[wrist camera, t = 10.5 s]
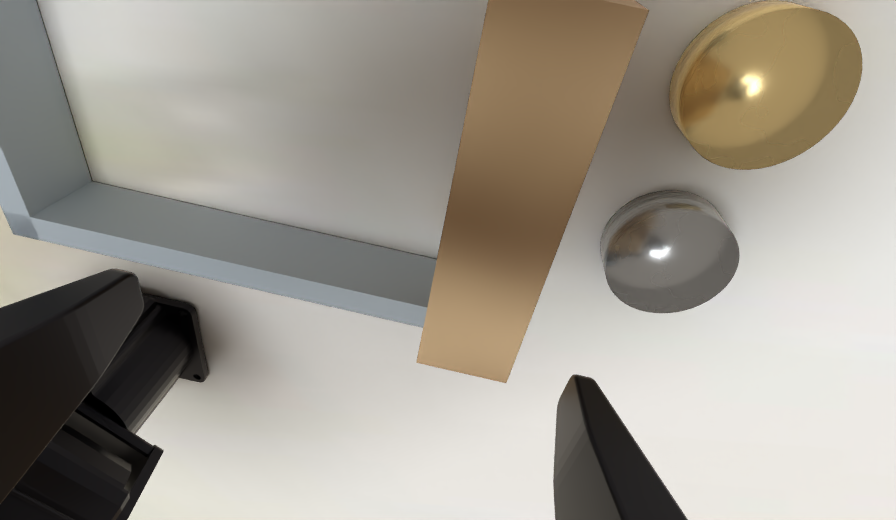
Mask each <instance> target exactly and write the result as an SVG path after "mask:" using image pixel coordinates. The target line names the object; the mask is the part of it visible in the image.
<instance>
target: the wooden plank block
mask: <svg viewBox="0 0 896 520" xmlns="http://www.w3.org/2000/svg"><path fill="white" fill-rule="evenodd" d="M648 12H649V10H648V9H646V8H645V7H644V6H642V5H641V4H639V3H638V2H636V1H635V0H488V5H487V10H486V15H485V20H484V25H483V30H482V35H481V40H480V45H479V50H478V55H477V60H476V65H475V70H474V75H473V80H472V85H471V90H470V95H469V100H468V105H467V110H466V116H465V121H464V126H463V131H462V136H461V141H460V146H459V151H458V156H457V161H456V166H455V171H454V176H453V181H452V186H451V191H450V196H449V201H448V206H447V211H446V216H445V221H444V226H443V231H442V236H441V241H440V246H439V251H438V256H437V261H436V266H435V271H434V277H433V282H432V287H431V292H430V297H429V302H428V307H427V312H426V317H425V322H424V327H423V332H422V337H421V342H420V347H419V352H418V357H417V362H416V363H421V364H425V365H429V366H434V367H438V368H442V369H447V370H451V371H456V372H460V373H464V374H469V375H473V376H477V377H482V378H486V379H490V380H495V381H499V382H503V383H506V382H507V380H508V377H509V375H510V372H511V369H512V367H513V364H514V362H515V359H516V356H517V354H518V351H519V348H520V346H521V343H522V341H523V338H524V335H525V333H526V330H527V328H528V325H529V322H530V320H531V317H532V315H533V312H534V309H535V307H536V304H537V302H538V299H539V296H540V294H541V291H542V288H543V286H544V283H545V281H546V278H547V275H548V273H549V270H550V268H551V265H552V262H553V260H554V257H555V255H556V252H557V249H558V247H559V244H560V241H561V239H562V236H563V234H564V231H565V228H566V226H567V223H568V221H569V218H570V215H571V213H572V210H573V208H574V205H575V202H576V200H577V197H578V195H579V192H580V189H581V187H582V184H583V181H584V179H585V176H586V174H587V171H588V168H589V166H590V163H591V161H592V158H593V155H594V153H595V150H596V148H597V145H598V142H599V140H600V137H601V135H602V132H603V129H604V127H605V124H606V121H607V119H608V116H609V114H610V111H611V108H612V106H613V103H614V101H615V98H616V95H617V93H618V90H619V88H620V85H621V82H622V80H623V77H624V74H625V72H626V69H627V67H628V64H629V61H630V59H631V56H632V54H633V51H634V48H635V46H636V43H637V41H638V38H639V35H640V33H641V30H642V28H643V25H644V22H645V20H646V17H647V14H648Z"/></svg>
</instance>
